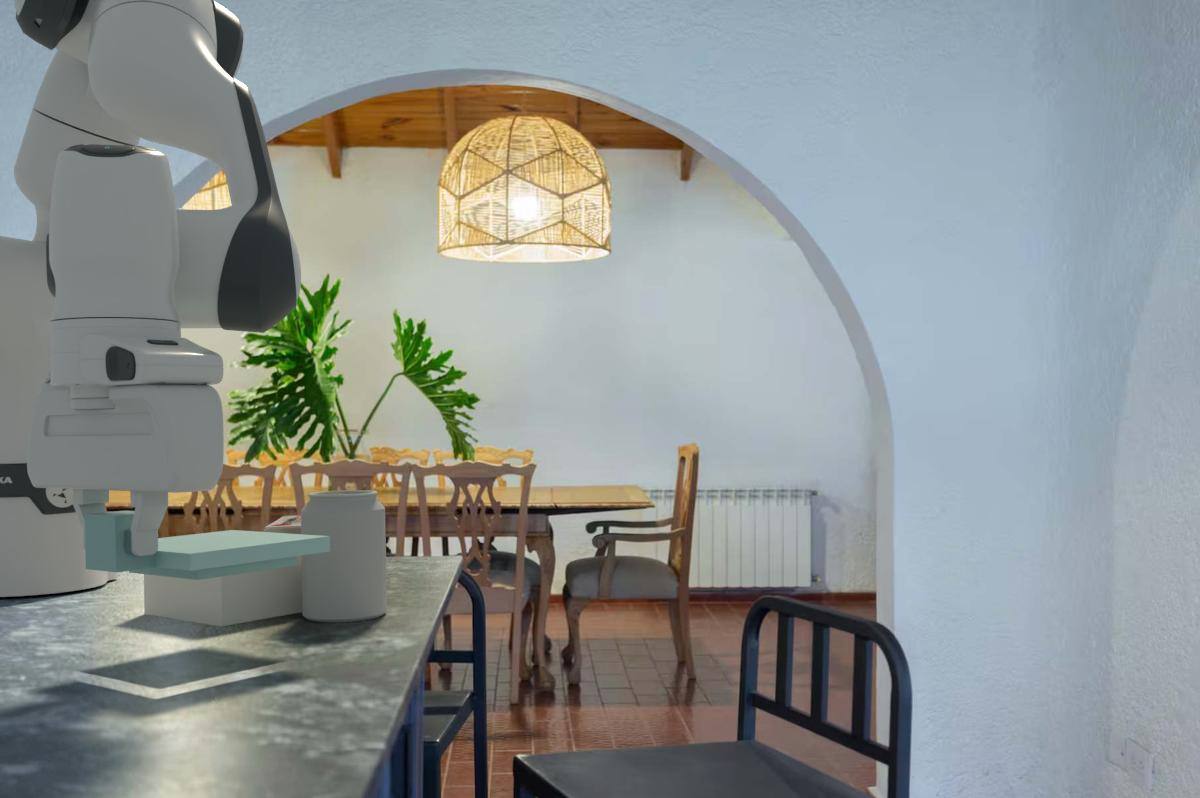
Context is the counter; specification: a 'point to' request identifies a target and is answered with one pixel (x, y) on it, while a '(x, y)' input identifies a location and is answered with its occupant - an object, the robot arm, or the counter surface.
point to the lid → (194, 550)
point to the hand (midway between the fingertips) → (120, 552)
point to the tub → (226, 596)
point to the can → (345, 557)
